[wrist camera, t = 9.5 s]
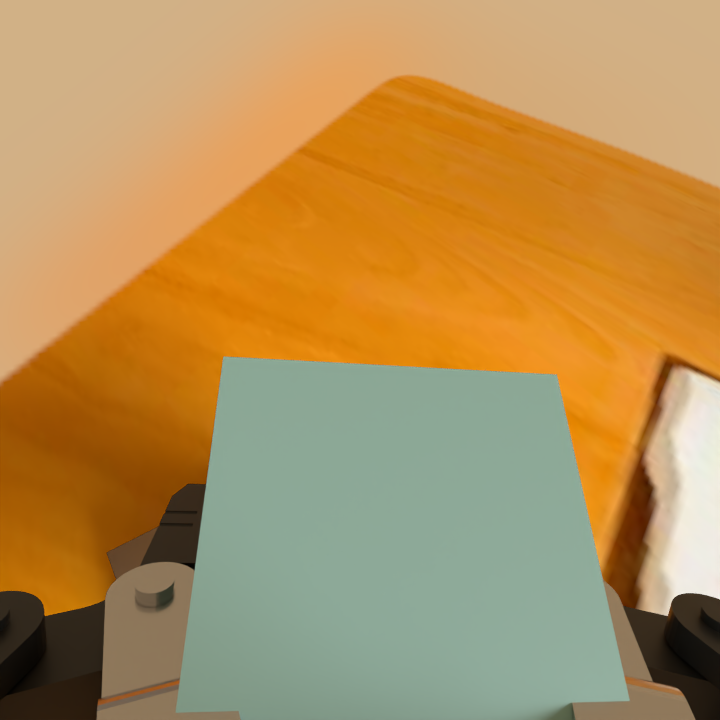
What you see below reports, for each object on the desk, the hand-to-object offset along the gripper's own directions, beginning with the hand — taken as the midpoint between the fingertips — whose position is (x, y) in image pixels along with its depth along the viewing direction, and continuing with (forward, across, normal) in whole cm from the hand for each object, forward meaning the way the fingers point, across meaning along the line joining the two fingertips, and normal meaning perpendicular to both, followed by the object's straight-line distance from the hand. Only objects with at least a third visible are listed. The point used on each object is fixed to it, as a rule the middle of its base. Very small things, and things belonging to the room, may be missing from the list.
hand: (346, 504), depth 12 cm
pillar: (+2, 0, +5) cm, 6 cm away
